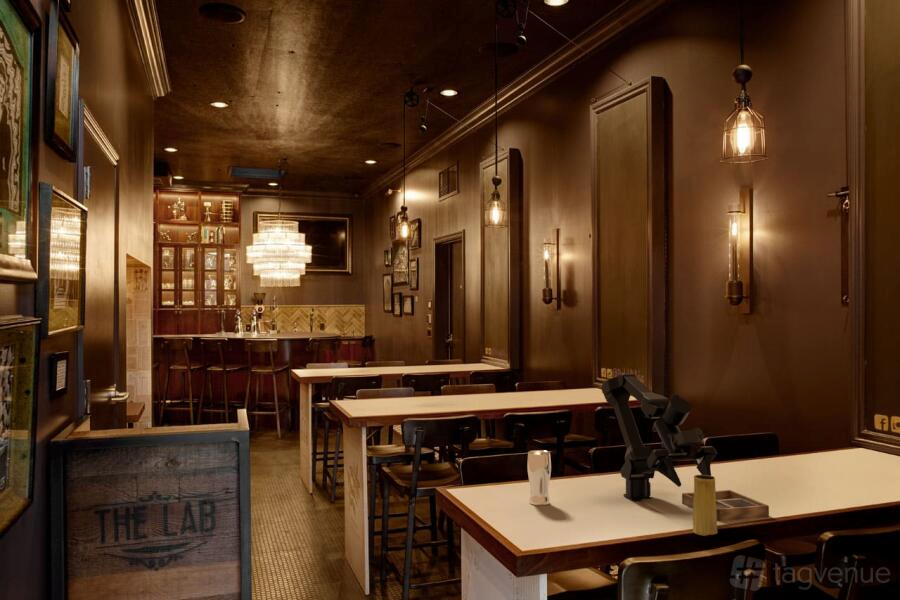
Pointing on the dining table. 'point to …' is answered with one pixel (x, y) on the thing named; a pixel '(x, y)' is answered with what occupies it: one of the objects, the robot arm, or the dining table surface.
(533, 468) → the beer glass
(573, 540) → the dining table surface
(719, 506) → the holder plate
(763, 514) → the tray
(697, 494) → the vase
